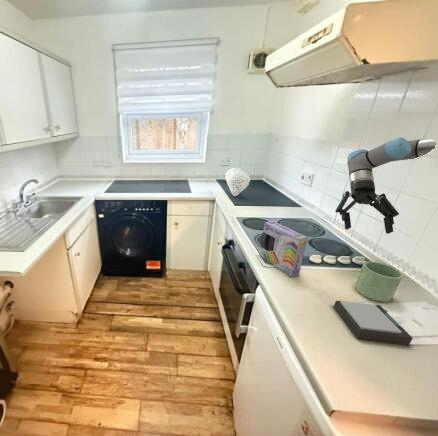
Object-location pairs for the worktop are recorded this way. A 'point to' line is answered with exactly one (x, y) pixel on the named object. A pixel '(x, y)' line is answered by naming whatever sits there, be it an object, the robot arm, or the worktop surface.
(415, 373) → the worktop surface
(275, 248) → the cake pan box
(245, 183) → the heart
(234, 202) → the worktop surface
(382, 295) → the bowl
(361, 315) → the scale
